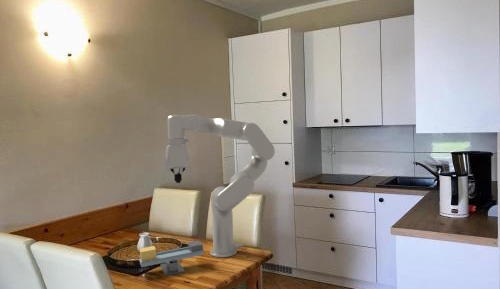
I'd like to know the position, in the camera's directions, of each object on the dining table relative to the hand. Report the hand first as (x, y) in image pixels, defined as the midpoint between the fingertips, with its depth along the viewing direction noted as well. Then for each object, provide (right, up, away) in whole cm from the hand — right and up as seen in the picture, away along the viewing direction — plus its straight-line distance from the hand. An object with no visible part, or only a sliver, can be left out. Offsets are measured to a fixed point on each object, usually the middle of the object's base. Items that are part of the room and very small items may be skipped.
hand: (178, 182), depth 176 cm
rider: (-9, -31, -15) cm, 35 cm away
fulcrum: (0, -36, -11) cm, 38 cm away
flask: (-15, -36, +3) cm, 39 cm away
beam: (-1, -31, -12) cm, 33 cm away
